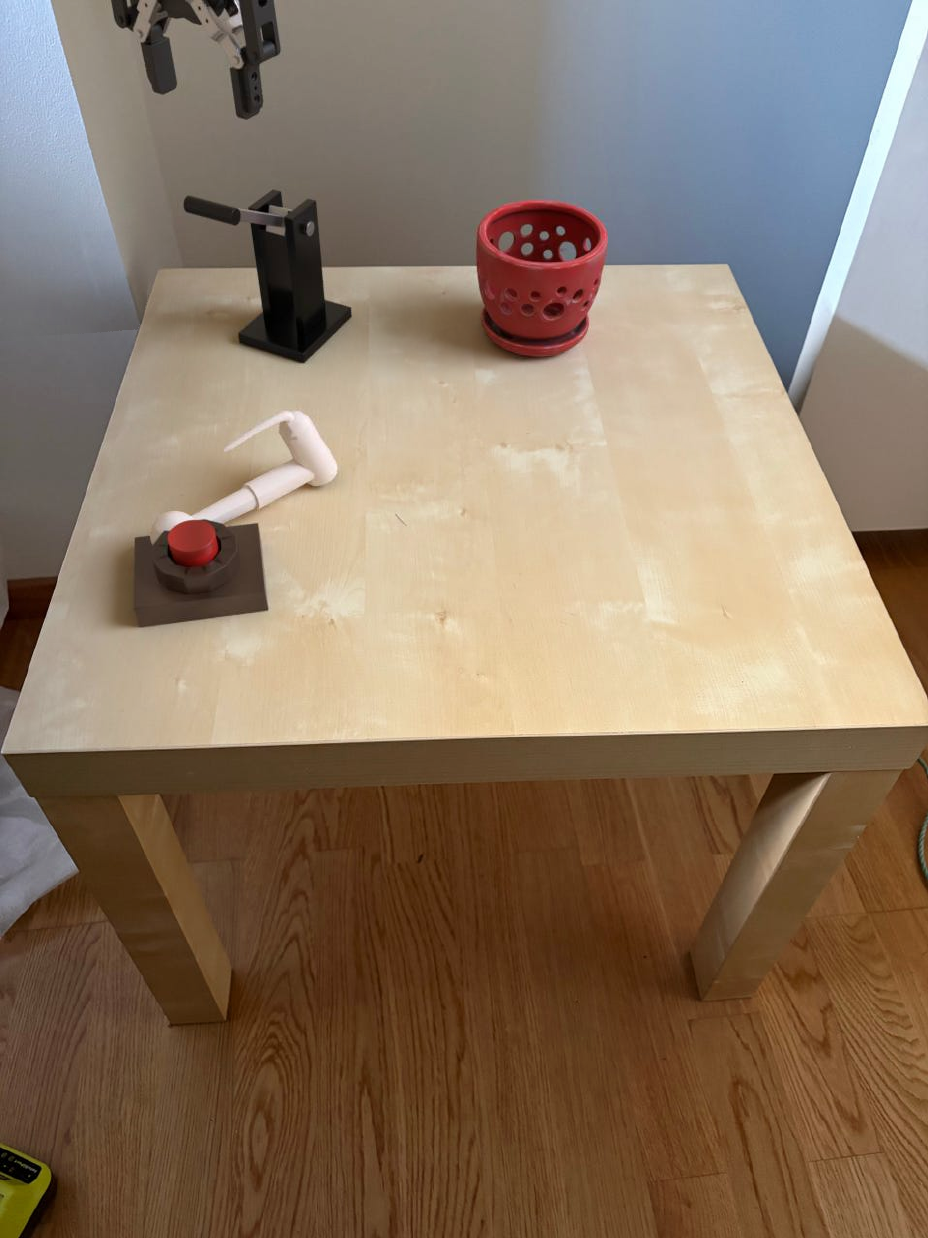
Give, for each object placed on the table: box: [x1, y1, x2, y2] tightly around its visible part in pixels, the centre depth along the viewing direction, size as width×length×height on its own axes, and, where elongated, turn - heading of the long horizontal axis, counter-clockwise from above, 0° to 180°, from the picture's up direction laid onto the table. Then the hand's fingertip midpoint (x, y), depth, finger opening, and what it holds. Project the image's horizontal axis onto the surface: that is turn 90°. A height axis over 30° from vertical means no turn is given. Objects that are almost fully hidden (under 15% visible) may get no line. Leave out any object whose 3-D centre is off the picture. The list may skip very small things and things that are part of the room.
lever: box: [182, 194, 293, 236], centre depth 89 cm, size 14×5×2 cm, turn 155°
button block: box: [132, 519, 269, 628], centre depth 77 cm, size 10×8×4 cm
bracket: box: [237, 188, 353, 364], centre depth 98 cm, size 10×8×14 cm
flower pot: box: [475, 199, 609, 357], centre depth 100 cm, size 13×13×12 cm
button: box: [168, 520, 218, 567], centre depth 75 cm, size 4×4×2 cm
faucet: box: [149, 410, 339, 545], centre depth 81 cm, size 4×18×10 cm, turn 134°
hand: (206, 103), depth 77 cm, fingers open, 8 cm apart
